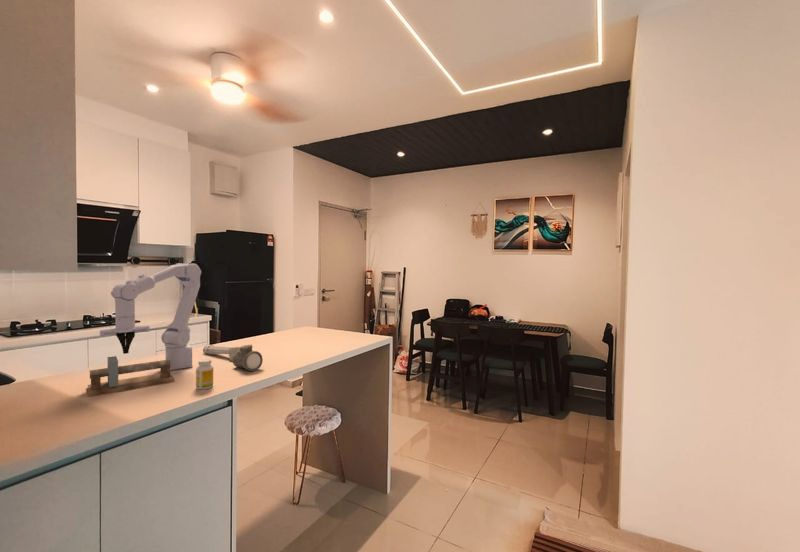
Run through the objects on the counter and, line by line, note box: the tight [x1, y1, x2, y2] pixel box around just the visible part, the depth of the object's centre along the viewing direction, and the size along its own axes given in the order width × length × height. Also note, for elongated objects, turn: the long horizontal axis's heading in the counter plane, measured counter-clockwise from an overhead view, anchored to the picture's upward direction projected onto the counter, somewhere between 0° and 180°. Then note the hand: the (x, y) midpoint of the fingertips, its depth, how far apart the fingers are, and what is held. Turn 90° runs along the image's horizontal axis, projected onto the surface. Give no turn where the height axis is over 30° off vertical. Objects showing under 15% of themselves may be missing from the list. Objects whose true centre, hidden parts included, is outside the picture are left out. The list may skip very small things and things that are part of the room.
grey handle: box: [202, 344, 240, 362], centre depth 168 cm, size 5×7×25 cm
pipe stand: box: [87, 359, 175, 397], centre depth 128 cm, size 24×11×7 cm, turn 132°
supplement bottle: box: [195, 358, 214, 390], centre depth 127 cm, size 5×5×10 cm
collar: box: [107, 355, 119, 388], centre depth 125 cm, size 2×9×9 cm, turn 42°
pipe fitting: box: [232, 344, 263, 372], centre depth 150 cm, size 12×8×10 cm
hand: (125, 353), depth 132 cm, fingers closed
